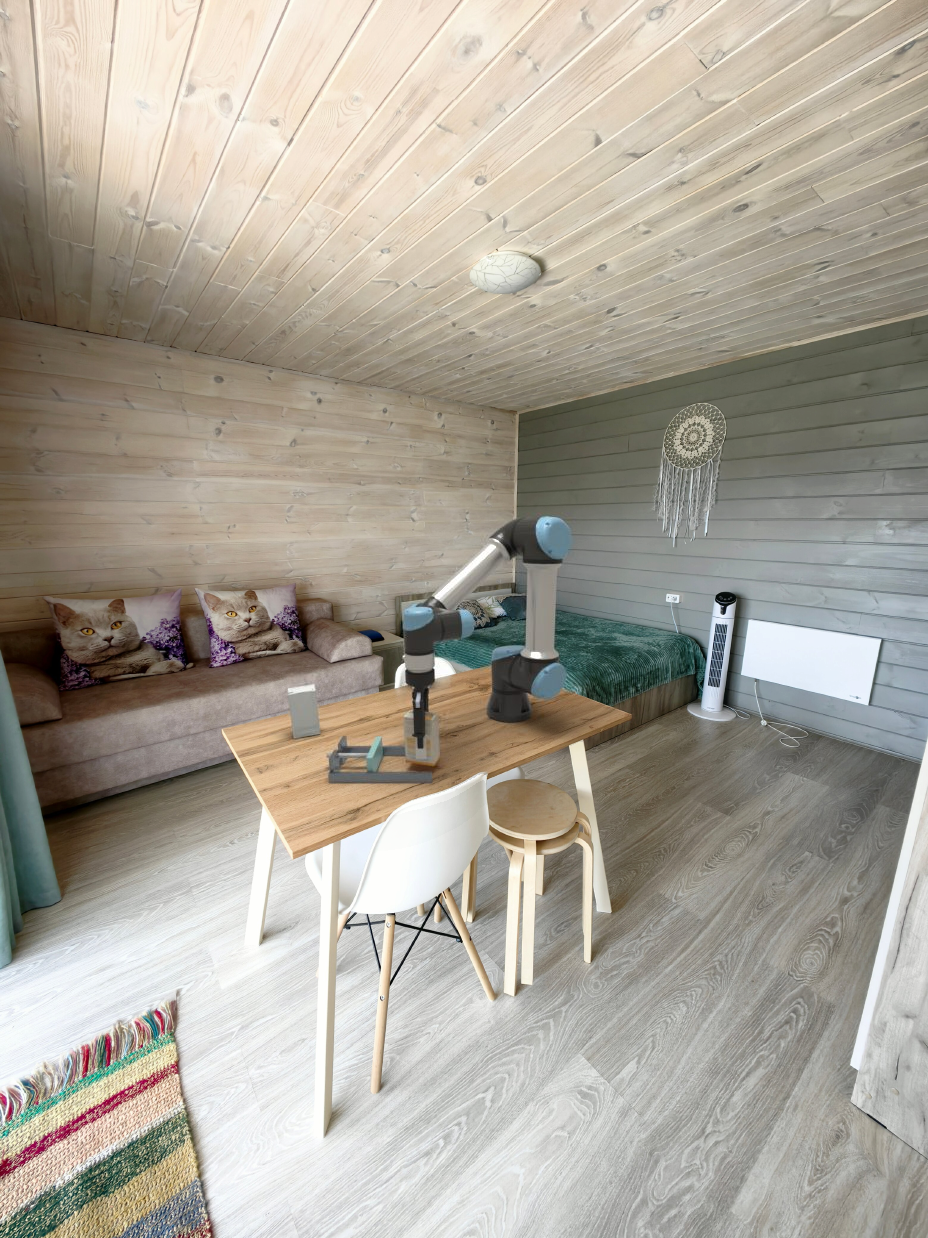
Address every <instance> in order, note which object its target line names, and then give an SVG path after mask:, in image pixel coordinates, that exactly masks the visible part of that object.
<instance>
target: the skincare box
mask: <svg viewBox="0 0 928 1238" xmlns="http://www.w3.org/2000/svg"><path fill="white" fill-rule="evenodd" d="M287 700H288V707H289V715H290V721H291V722H290V723H291V729H292V736H293V740H294V739H300V738H305V737H311V736H317V735H321V725H320V717H319V709H318V708H319V707H318V701H317V690H316V685H315V684H314V683H313V684H308V685H302V686H301V685H300V686H295V687H288V688H287Z"/></svg>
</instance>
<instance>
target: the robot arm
mask: <svg viewBox="0 0 928 1238" xmlns="http://www.w3.org/2000/svg"><path fill="white" fill-rule="evenodd" d="M572 546H573V536H572V532H571V529H570V527H569V525H568V524H566V522H565V520H563V519H562V518H559V517H554V516H547V515H546V516H531V517H530V516H529V517H527V516H526V517H525V516H524V517H523V516H522V517H518V518H514V519H512V520H510V521H508V522H507V523H505V524H504V525H503V526H501V527H500V528H498V529H497V530H496V531H495V532H493V533H492V534H491V535H490V536H489V537H488V538H487V539H486V540H485V542H484V546H483V547H482V548H481V549H480V550H479V551H478V552H477V553H475V555H473V556H472V557H471V558H470V559H469V560H468V561H467V562H466V563H464V565H462V566H461V568H459V569H458V570H457V571H456V572H455V573H453V575H452V576H450V577H449V579H447V581H446V582H445V583H443V584H442V585H441V586H440V587H439V588H438V589H437V590H435V592H434V593H432V595H430V596H429V597H428V598H427V599H426V600H425V601H423V602H418V603H417V602H415V603H414V604H412V605H411V606H410V607H408V608H406V609H405V610H404V611H403V615H402V630H403V649H404V655H402V660H404V668H405V670H404V671H405V672H404V674H405V675H404V678H405V684H406V685H407V686H409V687H411V688H412V687H414V689H412V690H413V691H412V693H411V698H412V701H411V703H412V710H413V720H414V734H412V736H414V737H415V747H416V759H427V750H426V734H425V712H430V711H429V710H430V708H429V699H430V698H429V696H430V687H431V686H432V685H434V684H435V682H436V678H435V677H436V675H435V674H436V673H435V671H436V669H435V665H436V661H435V658H436V656H435V644H438V643H443V642H444V643H445V642H449V641H455V640H462V639H465V638H468V637H470V636H472V635H473V633H474V630H475V620H474V616H473V614H472V612H470V611H469V610H467V609H457V610H455V609H456V608H458V607H459V605H461V604H462V603H463V601H465V600H466V599H467V598H468V597H469V596H470V595H471V594H472V593H473V592H474V591H476V589H477V588H478V587H480V585H481V584H483V583H484V582H485V581H486V580H487V579H488V578H489V577H490V576H491V575H492V574H493V573H494V572H496V570H498V568H499V567H500V566H501V565H507V564H509V562H510V561H512V560H513V559H514V558H517V557H521V556H522V564H523V566H524V567H525V568H526V569H527V576H526V583H527V584H526V614H525V616H526V621H525V645H505V646H500V647H499V646H498V647H496V648H494V649H493V650H492V652H491V660H490V662H491V663H490V664H491V693H490V695H489V699H488V702H487V705H486V715H487V716H488V717H489V718H490V719H492V720H494V721H499V722H503V723H518V722H522V721H526V720H528V719H529V718H531V717H532V713H533V711H532V710H533V708H532V704H531V702H530V698H529V695H531V696H532V697H534V698H539V699H543V700H550V699H553V698H555V697H556V696H557V695H559V694H560V692H561V691H562V689H563V687H564V686H565V683H566V681H567V670H566V668H565V667H564V665H562V664H561V663H559V662H560V661H559V660H560V654H559V652H558V651H557V650H556V649H555V631H556V629H555V628H556V605H557V604H556V603H557V582H558V581H557V576H558V569H559V568H560V567H561V566H562V565H563V561H564V560H563V559H564V558H565V557H567V555H568V554H569V551H571V549H572ZM428 686H430V687H429V688H428Z"/></svg>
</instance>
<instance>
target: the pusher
mask: <svg viewBox="0 0 928 1238" xmlns="http://www.w3.org/2000/svg"><path fill="white" fill-rule="evenodd" d="M370 746H371V749H370V751H369V753H339V758H346V759H362V758H363V759H365V760H366V763H365V764H366V772H378V771H377V770H378V768H379V766H380V764H381V761H382V758H383V757H384V756H383V746H384V745H383V737H382V736H376V737H375V738H374V740H373V742H372V745H370ZM332 753H333V752H331V753H330V752H327V753H326V758H327V759H329V757H330V756H331V754H332Z"/></svg>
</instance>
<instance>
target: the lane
mask: <svg viewBox="0 0 928 1238" xmlns="http://www.w3.org/2000/svg"><path fill="white" fill-rule="evenodd" d="M347 737H348V736H347V735H343V736H342V737H341V739H340V740H339V742H338V743H337V749H334V750H333V751H332V752H331V753H332V754H331V756H330V757H329V758H328V766H329V769H328V770H329V772H328V783H329V784H335V783H337V784H338V783H340V784H341V783H342V784H343V783H344V784H345V783H346V784H348V783H349V784H353V783H354V784H357V783H359V784H360V783H361V784H365V783H366V784H367V783H369V784H370V783H371V784H372V783H374V784H377V783H378V784H379V783H381V784H389V783H395V784H398V783H399V784H401V783H405V784H406V783H407V784H409V783H410V784H414V783H415V784H416V783H417V784H419V783H421V784H422V783H423V784H425V783H427V784H429V783H431V784H433V771H376V772H367V771H341V768H340V766H341V765H342V766H343V765H344V764H345V762H346V761H347V758H339V753H369V751H370V749H371V746H372V745H348V740H347V739H348V738H347ZM382 746H383V756H382V757H388V756H389V757H392V756H393V757H394V756H398V757H400V756H401V757H406V756H405V745H382Z"/></svg>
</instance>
